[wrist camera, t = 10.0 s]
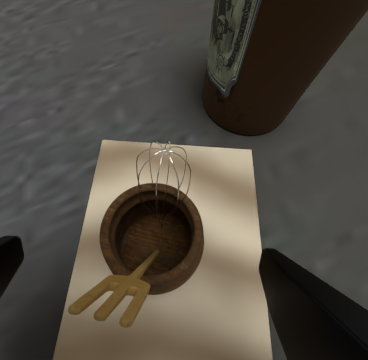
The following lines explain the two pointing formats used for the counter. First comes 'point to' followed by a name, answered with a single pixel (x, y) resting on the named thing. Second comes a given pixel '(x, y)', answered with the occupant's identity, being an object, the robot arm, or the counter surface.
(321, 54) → the olive oil
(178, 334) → the birch board
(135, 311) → the utensil holder
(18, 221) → the counter surface
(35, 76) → the counter surface
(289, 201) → the counter surface
